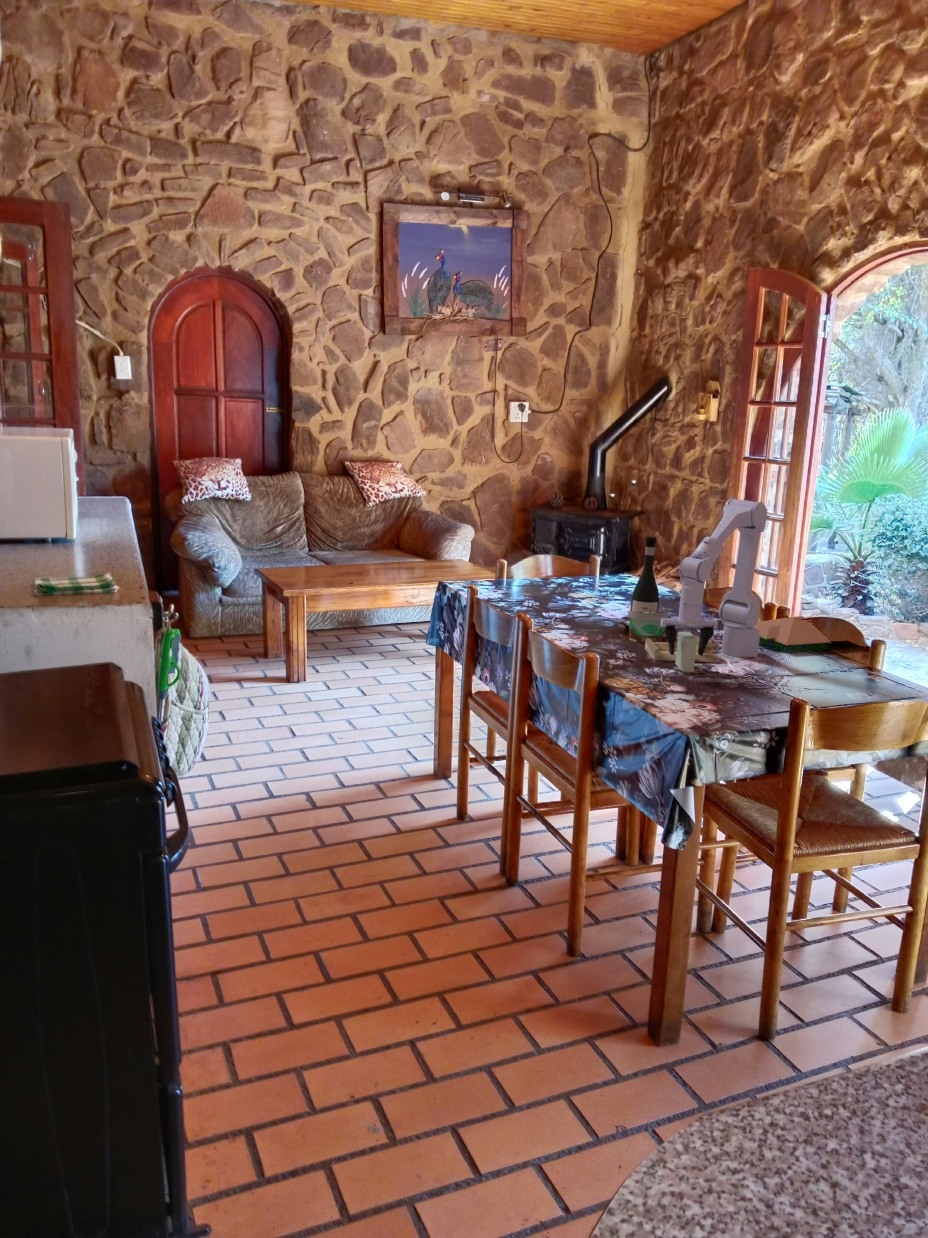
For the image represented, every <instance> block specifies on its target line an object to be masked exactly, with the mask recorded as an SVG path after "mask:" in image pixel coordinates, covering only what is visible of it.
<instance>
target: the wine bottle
mask: <svg viewBox="0 0 928 1238" xmlns="http://www.w3.org/2000/svg"><path fill="white" fill-rule="evenodd" d="M656 543H657V536H652V535H648V536H645V552H644V562H643V567H642V568H643V569H642V572H641V575H640V577H639V578H638V580H637V583H636V585H635V587H634V589H633V592H632V594H631V595H632V596H631V602H630V603H631V604H630V610H632V611H636V612H643V611H653V612H659V606H660V605H659V604H660V594H659V588H658V585H657V581H656V578H655V574H654V573H655V572H654V561H655V552H656V551H655V550H656Z"/></svg>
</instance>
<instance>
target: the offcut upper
mask: <svg viewBox="0 0 928 1238" xmlns="http://www.w3.org/2000/svg"><path fill="white" fill-rule="evenodd" d="M695 637H696V638H697V645H696V647H697V648H698V647H699V639H700V636H695ZM705 650H713V641H712V640H711V639H710V640H709V641H708V643H707V645H706V647H705Z"/></svg>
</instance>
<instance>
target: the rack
mask: <svg viewBox="0 0 928 1238" xmlns="http://www.w3.org/2000/svg"><path fill="white" fill-rule="evenodd" d="M677 643H678V642H675V649H674V655H671V654H670V653H669V644H668V642H666V641H665V642H664V641H661V642H652V641H651V640H650V639H649V638H646V642H645V644H644V650H645V651H646V652H647V653H648V654H649V656H650V657H651V658H652V660H654V661H666V662H667V661H668V662H669V661H670V662H671V661H673V662H676V652H677ZM695 662H703V663H720V661H719V660H718V654H717V653H713V654H703V656H700V655H699V654H698V653H696V654H695Z"/></svg>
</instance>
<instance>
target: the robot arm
mask: <svg viewBox="0 0 928 1238" xmlns="http://www.w3.org/2000/svg"><path fill="white" fill-rule="evenodd" d="M767 516H768V509H767V507H766V505H765V502H761V501H752V500H745V499H738V498H733V497H731V498H729V499H728V500H727V501H726V503H725V505H724V506H723V509H722V518H721V520H720V522H719V523H718V524H717V526H716V527H715V529H714V530H713V533H712V534H711V536H705V537H704V538H703V539H702V541H701V542H700V543H699V545H698V546H697V547H696V548H695V550H694V551H693V553H692V554H691V555H690V556H687V557H684V558H682V560H681V562H680V564H679V567H678V576H679V584H680V585H681V591H680V599H679V609H678V617H668V618H661V626H662V627H664V632H665V636H666V638H667V643H668V644H669V653H670V654H671V655H674V649H675V643H676V639H677V635H678V634H677V633H678V631H677V630H676V628H691V629H692V628H695V629H699V637H700V639H699V647H698V654H699V655H700V656H703V653H704V650H705V647H706V645H707V643H708V641H709V640H711V638H712V637H713V635H714V634H715V630H718V625H719V621H718V620H716V619H706V618H702V612H703V605H704V596H705V595H704V594H705V585H706V582H707V580H708V579H709V578H710V576H711V574H712V570H713V567H714V563H715V562H716V560H717V559H718V558H719V556H720V555H721V554H722V552H723V550H724V547H723V546H724V545H723V544H724V543H725V542H726V541H727V540H728V538H729V537H731V535H732V534H733V533H734V532H735V531H736V530H737V531H738V532H739V535H740V537H739V543H738V544H739V545H738V550H737V556H736V557H737V558H736V563H735V570H734V576H733V583H732V589H731V590H729V592H726V593H725V594H724V595H723V597H722V600H721V603H720V605H719V608H718V616H719V619H720V621H721V625H723V633H722V642H721V643H722V644H721V650H720V652H721V654H723V655H725V656H728V657H734V658H735V657H736V658H743V657H744V658H746V657H749V658H753V657H755V658H757V657H758V653H759V646H760V641H759V630H758V628H757V627H756V626H755V625H756V624H757V622H759V619H760V613H761V612H760V603H761V602H760V599H758V597H756V595H755V594H754V593H753V592H752V591H753V590H752V589H753V583H754V576H755V571H756V564H757V561H758V560H757V558H758V554H759V553H758V551H759V546H760V541H761V534H762V533H763V532H765V528H766V524H767Z"/></svg>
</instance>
